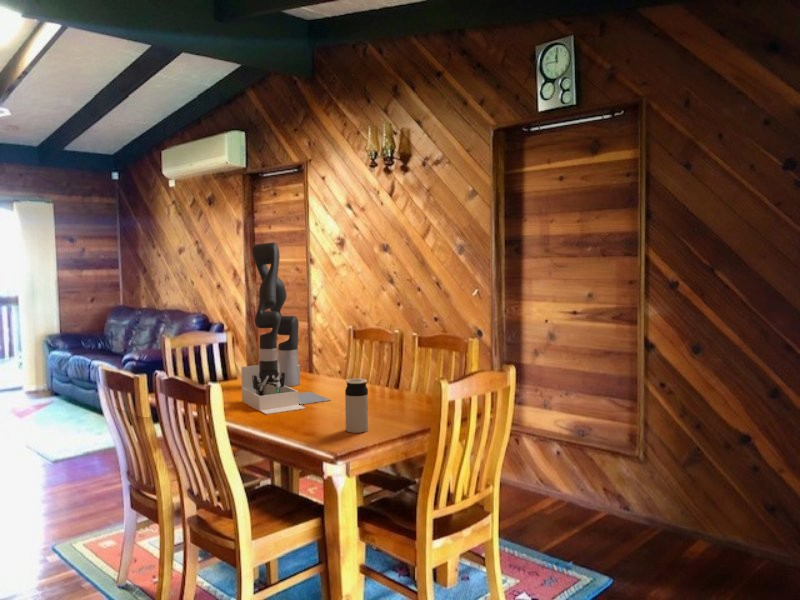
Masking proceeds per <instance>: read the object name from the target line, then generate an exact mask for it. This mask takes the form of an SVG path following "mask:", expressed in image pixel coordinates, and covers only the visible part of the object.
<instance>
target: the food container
mask: <svg viewBox="0 0 800 600" xmlns="http://www.w3.org/2000/svg"><path fill="white" fill-rule="evenodd" d="M276 380H277V379H276ZM260 381H261V379H258V380H257V383H258V386H259V383H260ZM262 383H263V382H262ZM280 386H281V385H280V382H279V380H277V382H266V384H265V386H264V387H263V389H262V391H263V396H264V395H272V394H279V387H280ZM256 394H257V395H258V390H256Z"/></svg>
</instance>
